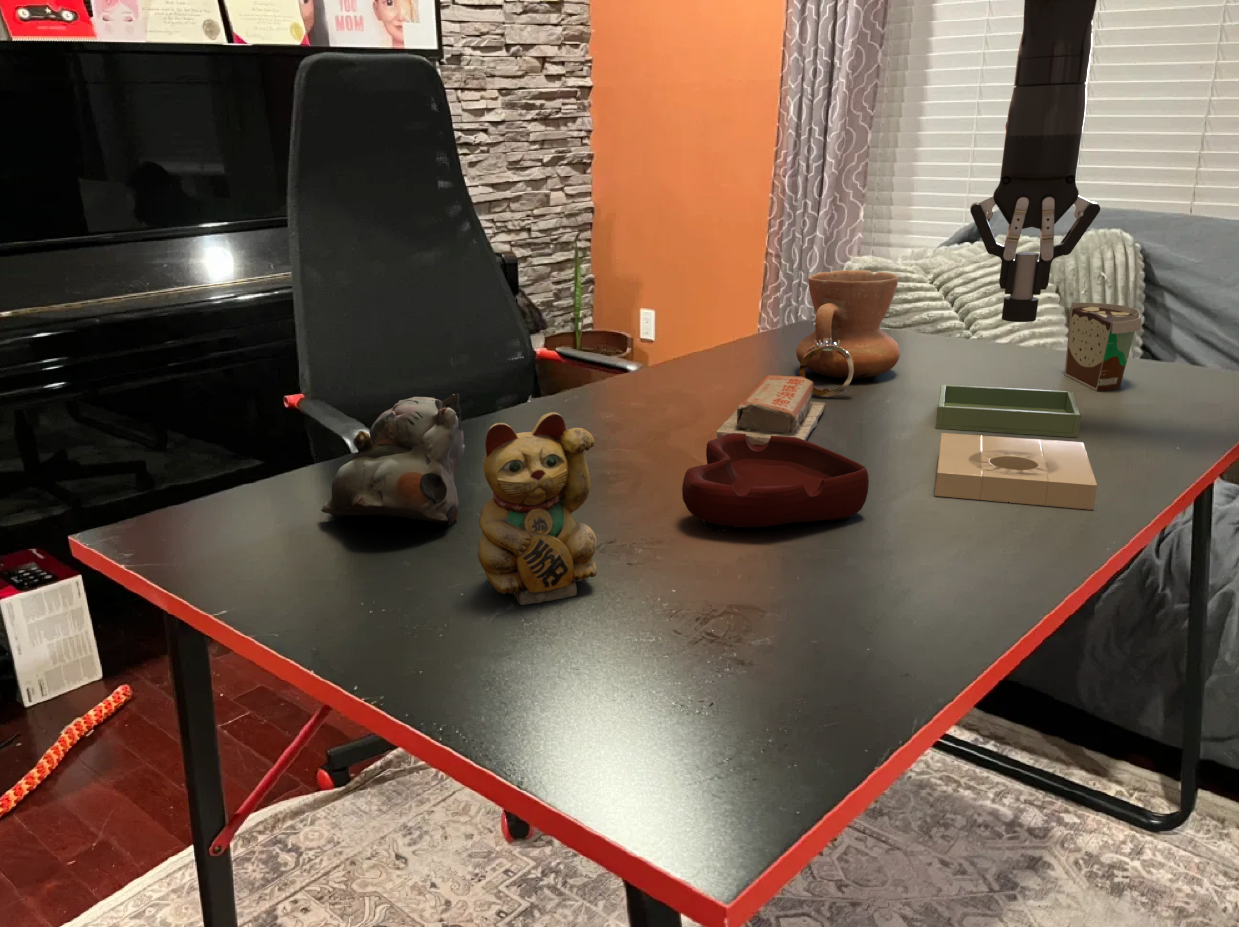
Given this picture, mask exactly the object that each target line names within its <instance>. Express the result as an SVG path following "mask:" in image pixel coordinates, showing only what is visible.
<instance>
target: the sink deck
mask: <svg viewBox="0 0 1239 927" xmlns="http://www.w3.org/2000/svg"><path fill="white" fill-rule="evenodd" d="M939 440H940V441H939V448H938V449H939V450H938V459H937V468H936V469H937V470H936V477H935V488H934V496H935V497H942V498H953V499H955V498H956V499H965V500H975V501H976V500H977V501H987V502H997V503H998V502H999V503H1008V502H1009V504H1020V505H1033V506H1043V507H1055V508H1066V509H1078V510H1088V511H1090V510H1091V511H1094V508H1095V502H1096V496H1097V491H1098V484H1097V480H1096V478H1095V473H1094V471H1093V468H1092V465H1091V462H1090V460H1089V456H1088V453H1087V450H1086V447H1085V443H1084V442H1083V441H1082V442H1081V441H1067V440H1052V439H1037V438H1020V437H1009V436H1008V437H1007V436H992V435H991V436H990V435H979V434H977V435H976V434H965V433H963V434H962V433H949V432H941V433H940V439H939Z"/></svg>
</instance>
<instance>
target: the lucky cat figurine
mask: <svg viewBox="0 0 1239 927" xmlns="http://www.w3.org/2000/svg"><path fill="white" fill-rule="evenodd" d="M464 441H465V438H464V430H463V428H462V408H461V407H460V394H459V393H453V394H451V395H449V396H447V398H445V399H443V400H440V399H436V398H435V397H427V396H413V397H410V398H405V399H399V400H398V401H397V403H395V404H394V405H393V407H392V408H390V409H389V408H388V410H385V411H384V412H382V413H381V414H380V415H379V416H378V417H377V418H376V420H375V421H374V422H373V424H372V425H371V427H370V429H369V433H368V432H366V431H363V430H359V431H358V432H357V434H356V435H355V438H353V442H352V443H353V444H354V446H355V448H356V450H357V453H356V454H355V455H353V456H352V458H351V459H350V461H348V462H347V463H345V464H343V465H342V466H340V467H339V469H338V471H337V473H336V474H335V477H334V479H333V481H332V483H331V497H330V500H329V501H326V502H325V503H323V505H322V508H319V510H320V511H321V512H322V513H324V514H330V515H331V516H332V517H334V518H335V519H339V518H340V517H342V516H389V517H397V518H403V519H404V518H405V519H412V520H420V521H427V522H436V523H439V524H442V525H445V526H450V525H453V524H454V522H455V520H456V519H457V517H458V514H459V508H460V503H459V502H460V500H459V497H458V490H457V487H456V485H455V475H456V470H457V468H458V466H459V464H460V462H461V460H462V459H463V457H464V454H465V447H466V445H465V443H464Z"/></svg>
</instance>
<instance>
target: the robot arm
mask: <svg viewBox="0 0 1239 927" xmlns="http://www.w3.org/2000/svg"><path fill="white" fill-rule="evenodd" d="M1023 1H1024V3H1023V23H1022V24H1023V27H1022V34H1021V37H1020V42H1019V45H1018V46H1019V47H1018V52H1017V58H1016V65H1015V72H1014V74H1015V75H1014V82H1013V88H1012V89H1013V90H1012V94H1011V100H1010V102H1009V106H1008V111H1007V120H1006V122H1005V123H1006V124H1005V136H1004V144H1003V152H1002V153H1003V154H1002V161H1001V169H1000V176H999V183H998V185H997V187H996V188H995V189H994V191H993V194H992V196H990V197H988V198H986V199H983V200H982V201H980V202H974V203H971V205H970V207H969V208H970V209H969V210H970V211H969V212H970V214H971V216H972V219H973V222H974V225H975V227H976V228H977V231H978V233H979V236H980V238H981V241H982V243H983V246H984V248H985V250H986V252H987V254H989V255H992V256H995V257H998V258H999V259H1000V261H1001V263H1000V271H999V280H998V284H999V288H1000V289H1001V290H1004V295H1010V294H1012V287H1013V279H1014V271H1015V264H1016V261H1015V254H1016V253H1017V249H1018V245H1019V242H1020V238H1021V234H1022V230H1026V229H1029V228H1035V229H1038V230H1039V257H1038V262H1037V270H1036V277H1035V285H1034V292H1033V296H1040V295H1041V293H1042V290H1043V291H1044V290H1047V288H1048V287H1049V282H1050V276H1051V269H1052V263H1053V261H1054V260H1055V259H1057V258H1059V257H1063V256H1069V255H1070V254H1071V253H1072V252H1073V250H1074V249H1075V247H1076V246H1077V245H1078V243H1079V242H1080V241H1081V239H1082V238H1083V236H1084V235H1085V233H1086V232H1087V231H1088V229H1089V228H1090V226H1091V225H1092V223H1093V222H1094V220H1095V219H1096V218H1097V217H1098V215H1099V213H1100V211H1101V206H1100V204H1099V203H1097V202H1095V201H1090V200H1088V199H1086V198H1085V197H1082V196H1080V194H1079V193H1080V192H1079V189H1078V186H1077V183H1076V179H1077V178H1076V177H1077V172H1078V165H1079V160H1080V159H1079V158H1080V150H1081V145H1082V138H1083V137H1082V136H1083V129H1084V124H1085V116H1086V109H1087V84H1088V78H1089V77H1088V76H1089V71H1090V63H1091V55H1092V49H1093V48H1092V47H1093V21H1094V17H1095V11H1096V7H1097V2H1098V0H1023ZM1073 205H1074V207H1075V208H1074V211H1073V216H1074V218H1075V219H1076V220H1075V221H1074V222H1073V224H1072V225H1071V227H1070V228H1069V229H1068V231H1067V233H1066V234H1065V235H1064V237H1063V238H1062V240H1061V241H1060V242H1059V243H1056V244H1054V243H1055V242H1054V241H1055V240H1054V239H1055V225H1056V224H1057V223H1058V222H1059V220H1060V219H1061V218H1063V216H1064V215H1065V214H1066V213H1067V212H1068V210H1070V208H1071V207H1073ZM994 206H996V207H997V208H998V210H999V211H1000V213H1001V214H1002V216H1003V218H1004V220H1006V222H1007V224H1008V227H1007V232H1006V237H1005V241H1004V244H1001V243H1000V242H999V243H998V242H997V240H996V238H995V235H994V232H993V230H992V228H991V225H990V223H989V221H988V220H990V219H991V218H992V217H993V215H994V212H993V208H994Z"/></svg>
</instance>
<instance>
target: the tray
mask: <svg viewBox="0 0 1239 927" xmlns="http://www.w3.org/2000/svg"><path fill="white" fill-rule="evenodd" d="M1081 416H1082V415H1081V412H1080V409H1079V407H1078V403H1077V401H1076V397H1075V395H1074V393H1073V391H1071V390H1056V389H1055V390H1053V389H1037V388H1036V389H1032V388H1015V387H1014V388H1013V387H997V386H996V387H993V386H979V385H977V386H976V385H975V386H974V385H957V384H956V385H955V384H941V385H940V390H939V398H938V407H937V416H936V425H935V428H936V429H940V430H955V431H968V432H969V431H971V432H988V433H1001V434H1016V435H1031V436H1048V437H1059V438H1060V437H1063V438H1078V435H1079V429H1080V422H1081Z"/></svg>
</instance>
